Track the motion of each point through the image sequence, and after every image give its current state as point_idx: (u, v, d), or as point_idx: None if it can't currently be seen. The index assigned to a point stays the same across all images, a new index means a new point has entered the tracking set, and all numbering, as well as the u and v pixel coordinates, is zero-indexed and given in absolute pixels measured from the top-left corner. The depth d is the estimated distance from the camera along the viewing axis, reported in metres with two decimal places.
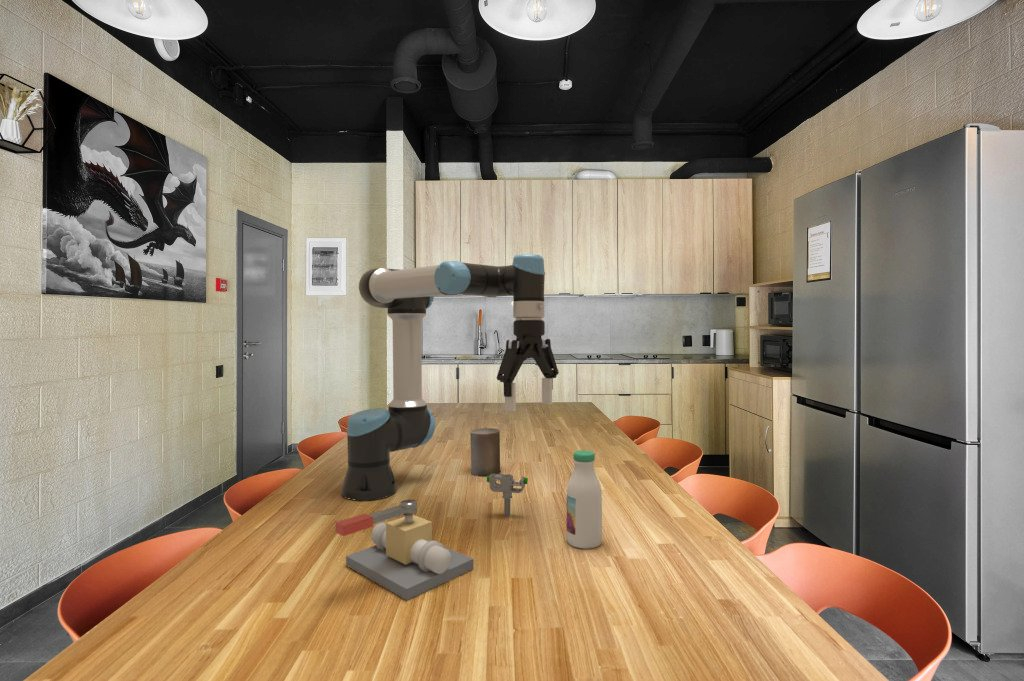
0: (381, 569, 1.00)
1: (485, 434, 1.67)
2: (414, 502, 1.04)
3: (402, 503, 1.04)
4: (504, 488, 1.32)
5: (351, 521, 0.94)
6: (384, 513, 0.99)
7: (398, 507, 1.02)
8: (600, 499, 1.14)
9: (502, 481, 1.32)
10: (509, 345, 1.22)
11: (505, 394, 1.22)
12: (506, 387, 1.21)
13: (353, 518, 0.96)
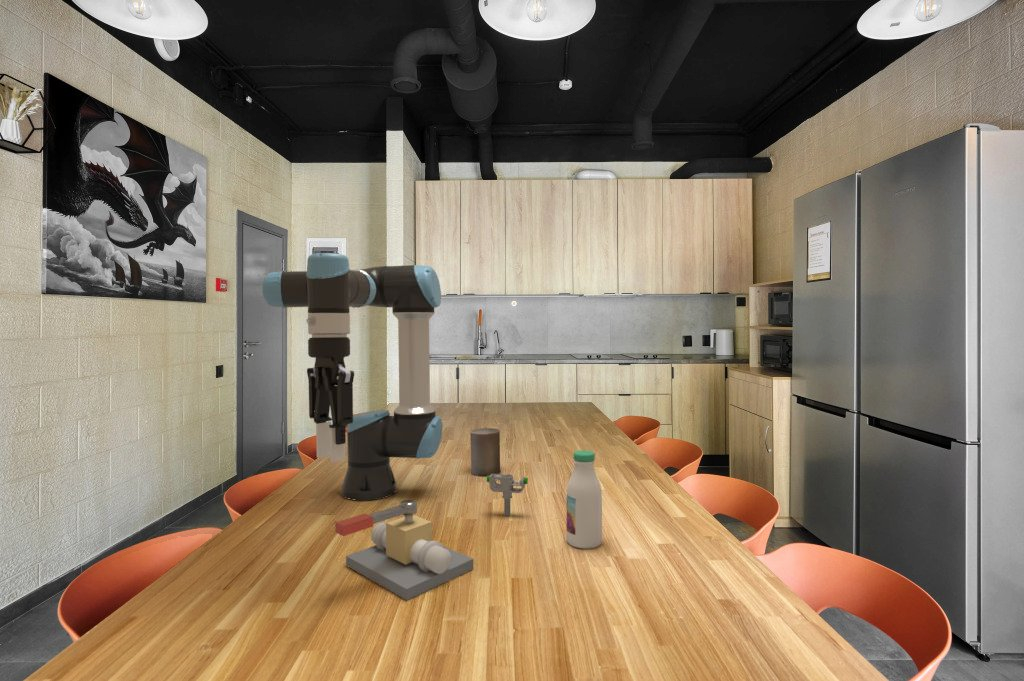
0: (381, 569, 1.00)
1: (485, 434, 1.67)
2: (414, 502, 1.04)
3: (402, 503, 1.04)
4: (504, 488, 1.32)
5: (351, 521, 0.94)
6: (384, 513, 0.99)
7: (398, 507, 1.02)
8: (600, 499, 1.14)
9: (502, 481, 1.32)
10: None
11: None
12: None
13: (353, 518, 0.96)
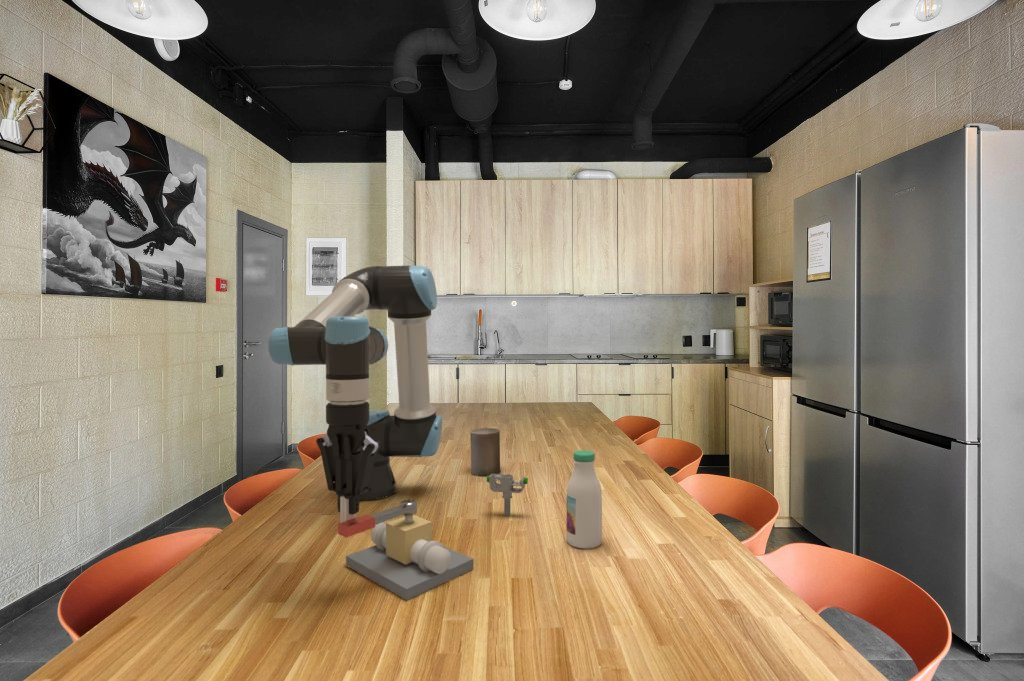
0: (381, 569, 1.00)
1: (485, 434, 1.67)
2: (414, 502, 1.04)
3: (402, 503, 1.04)
4: (504, 488, 1.32)
5: (354, 522, 0.94)
6: (386, 513, 0.99)
7: (399, 507, 1.02)
8: (600, 499, 1.14)
9: (502, 481, 1.32)
10: None
11: None
12: None
13: (355, 519, 0.95)
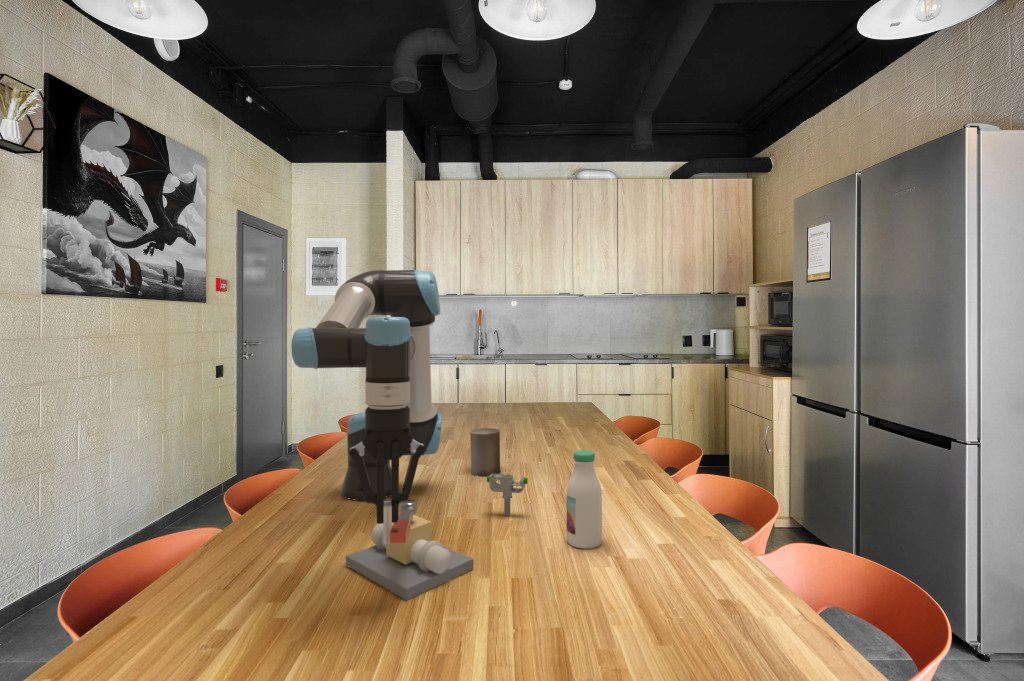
0: (381, 569, 1.00)
1: (485, 434, 1.67)
2: (413, 501, 1.05)
3: (406, 504, 1.03)
4: (504, 488, 1.32)
5: (402, 527, 0.92)
6: (408, 515, 0.98)
7: (407, 508, 1.02)
8: (600, 499, 1.14)
9: (502, 481, 1.32)
10: None
11: None
12: None
13: (397, 525, 0.92)
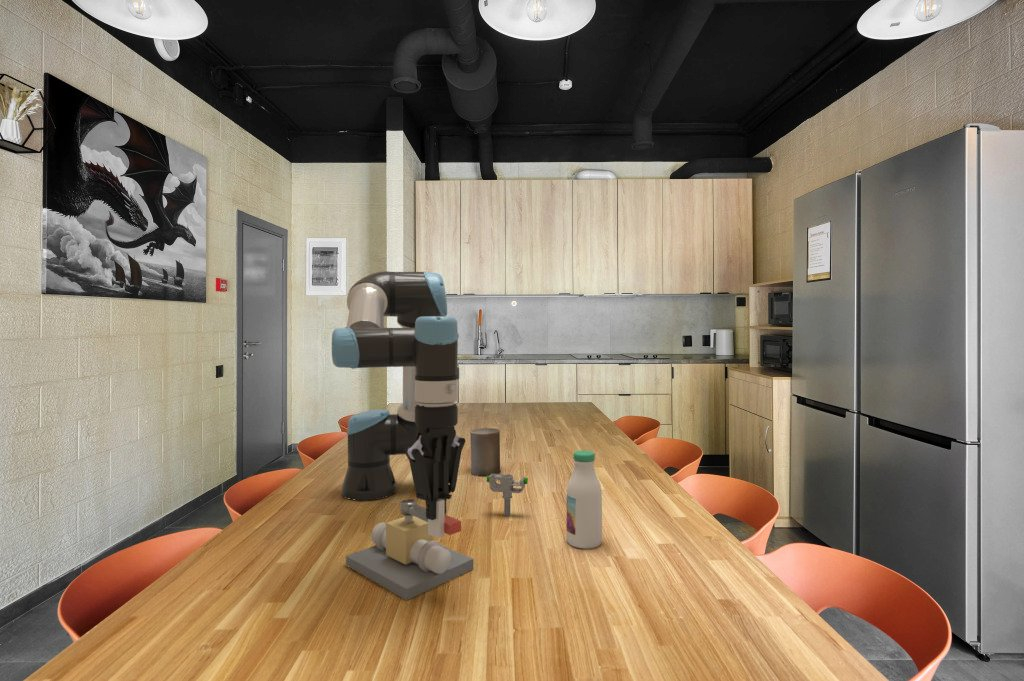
0: (381, 569, 1.00)
1: (485, 434, 1.67)
2: (410, 500, 1.05)
3: (410, 504, 1.03)
4: (504, 488, 1.32)
5: (449, 519, 0.95)
6: None
7: (416, 507, 1.03)
8: (600, 499, 1.14)
9: (502, 481, 1.32)
10: (411, 457, 0.89)
11: (428, 516, 0.93)
12: (429, 507, 0.92)
13: None
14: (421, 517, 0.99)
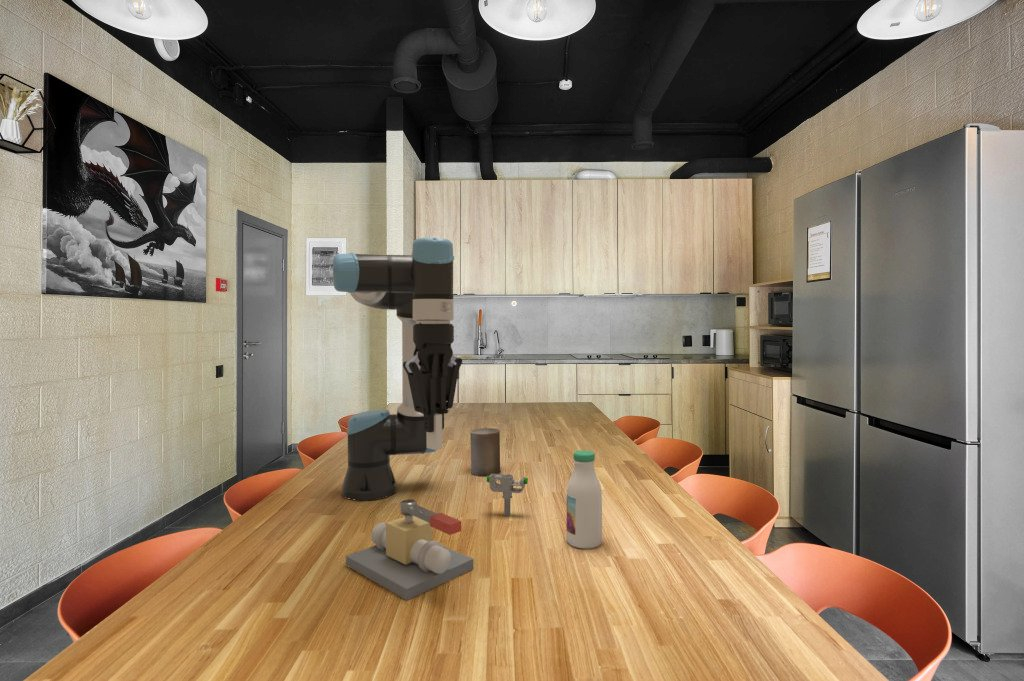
0: (381, 569, 1.00)
1: (485, 434, 1.67)
2: (410, 500, 1.05)
3: (410, 504, 1.03)
4: (504, 488, 1.32)
5: (450, 519, 0.95)
6: (429, 511, 1.00)
7: (416, 507, 1.03)
8: (600, 499, 1.14)
9: (502, 481, 1.32)
10: (408, 370, 0.94)
11: (426, 429, 0.98)
12: (427, 420, 0.97)
13: (443, 519, 0.95)
14: (421, 517, 0.99)
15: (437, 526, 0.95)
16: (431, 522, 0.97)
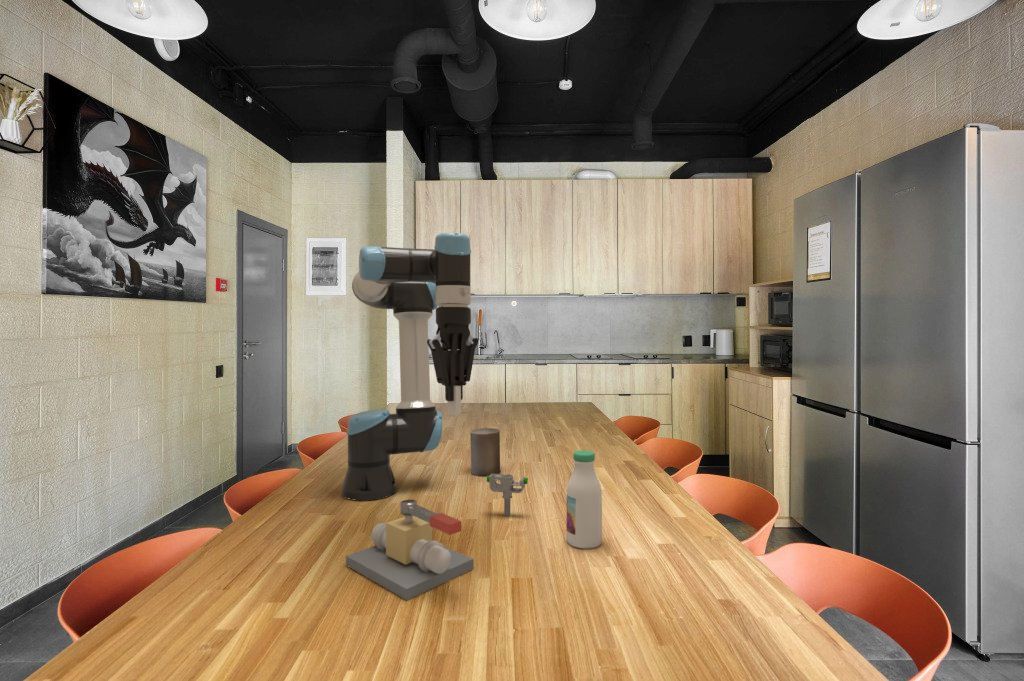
0: (381, 569, 1.00)
1: (485, 434, 1.67)
2: (410, 500, 1.05)
3: (410, 504, 1.03)
4: (504, 488, 1.32)
5: (450, 519, 0.95)
6: (429, 511, 1.00)
7: (416, 507, 1.03)
8: (600, 499, 1.14)
9: (502, 481, 1.32)
10: (432, 346, 1.09)
11: (447, 398, 1.13)
12: (447, 391, 1.12)
13: (443, 519, 0.95)
14: (421, 517, 0.99)
15: (437, 526, 0.95)
16: (431, 522, 0.97)
